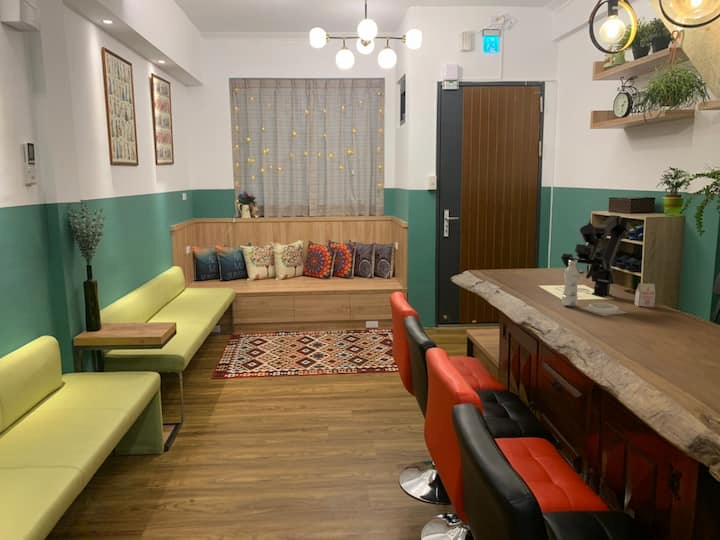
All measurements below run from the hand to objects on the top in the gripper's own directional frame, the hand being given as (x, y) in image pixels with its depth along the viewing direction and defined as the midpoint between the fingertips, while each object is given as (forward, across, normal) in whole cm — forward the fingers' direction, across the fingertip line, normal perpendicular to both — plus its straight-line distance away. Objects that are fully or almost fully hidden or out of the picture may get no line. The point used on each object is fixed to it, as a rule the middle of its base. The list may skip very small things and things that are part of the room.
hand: (576, 276), depth 250 cm
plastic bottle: (+12, 0, +6) cm, 13 cm away
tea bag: (-6, +22, +24) cm, 33 cm away
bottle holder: (+10, +13, +8) cm, 18 cm away
